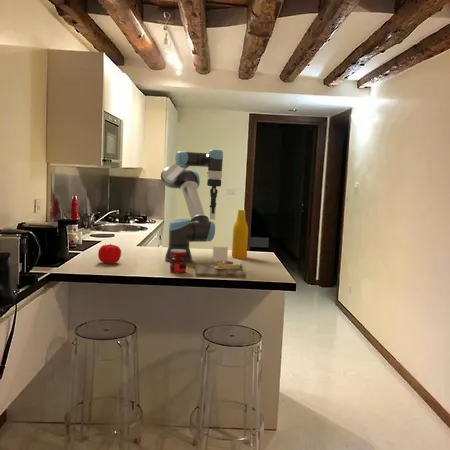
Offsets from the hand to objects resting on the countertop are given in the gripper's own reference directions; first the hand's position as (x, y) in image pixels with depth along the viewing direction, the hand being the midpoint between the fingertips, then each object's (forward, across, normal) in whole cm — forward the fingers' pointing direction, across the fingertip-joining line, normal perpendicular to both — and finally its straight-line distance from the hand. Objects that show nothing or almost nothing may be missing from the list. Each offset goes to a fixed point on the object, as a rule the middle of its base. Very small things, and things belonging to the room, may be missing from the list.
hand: (212, 218), depth 256 cm
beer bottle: (+27, -25, +18) cm, 41 cm away
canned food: (+26, +23, -16) cm, 38 cm away
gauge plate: (+25, +19, +5) cm, 32 cm away
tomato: (+27, +6, -53) cm, 60 cm away
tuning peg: (+23, +19, +8) cm, 31 cm away
